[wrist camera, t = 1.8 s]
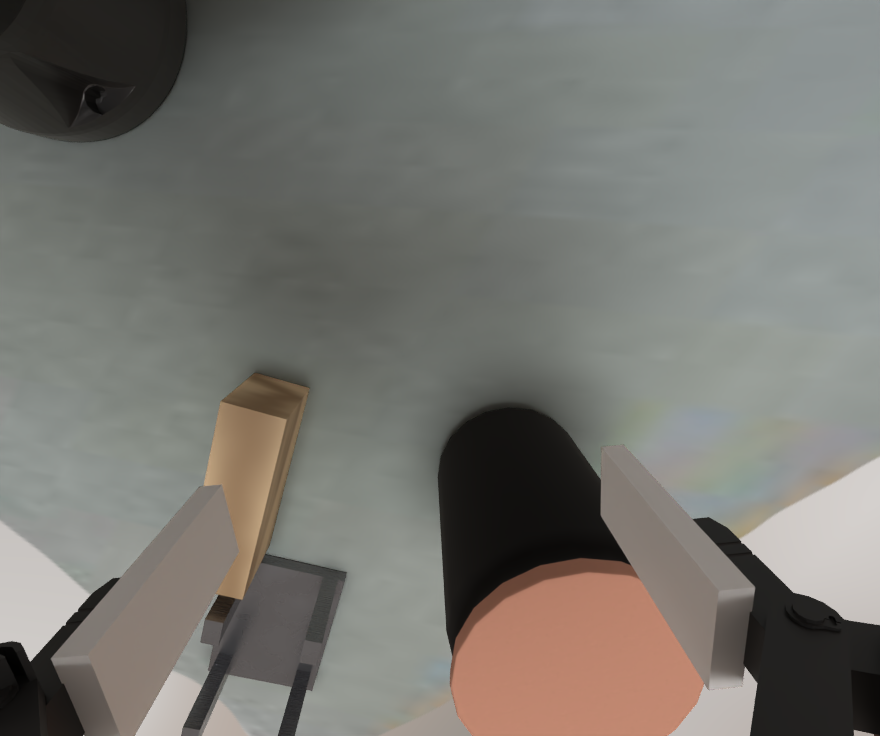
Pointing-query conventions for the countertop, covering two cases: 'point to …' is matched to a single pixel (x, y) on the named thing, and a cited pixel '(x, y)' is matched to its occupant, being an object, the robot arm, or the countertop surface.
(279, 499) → the block
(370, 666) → the countertop surface
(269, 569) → the bracket
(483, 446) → the coffee jar
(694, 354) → the countertop surface
